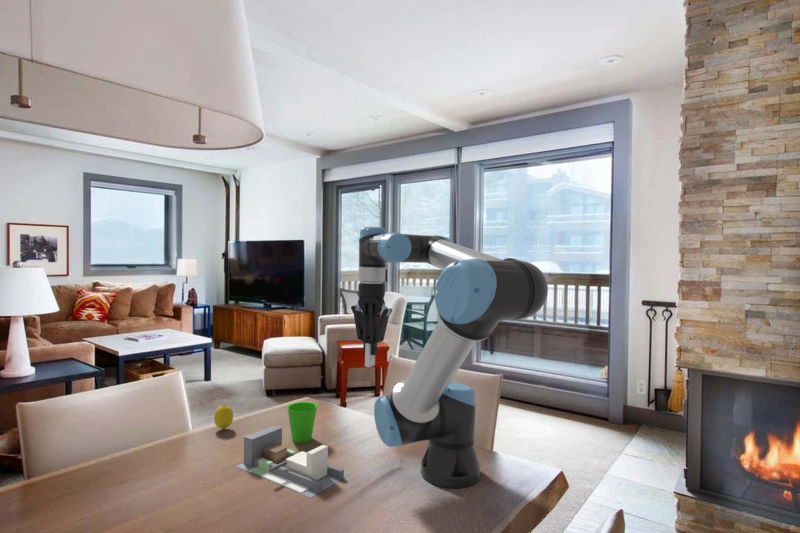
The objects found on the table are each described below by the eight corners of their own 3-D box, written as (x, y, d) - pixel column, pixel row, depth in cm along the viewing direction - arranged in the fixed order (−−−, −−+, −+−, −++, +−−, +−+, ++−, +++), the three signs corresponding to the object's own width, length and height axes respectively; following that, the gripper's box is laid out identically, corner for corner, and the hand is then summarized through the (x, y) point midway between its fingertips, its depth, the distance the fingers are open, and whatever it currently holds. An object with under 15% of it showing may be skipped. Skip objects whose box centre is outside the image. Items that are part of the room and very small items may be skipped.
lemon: (236, 429, 143) (237, 403, 143) (221, 434, 138) (221, 408, 138) (225, 425, 146) (225, 400, 146) (210, 430, 141) (210, 405, 141)
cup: (313, 450, 129) (314, 411, 128) (282, 449, 129) (282, 410, 129) (320, 437, 138) (320, 401, 137) (290, 437, 138) (291, 400, 138)
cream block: (327, 474, 111) (327, 446, 111) (294, 493, 102) (295, 462, 102) (302, 465, 116) (302, 437, 116) (268, 481, 107) (269, 452, 107)
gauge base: (350, 478, 113) (351, 445, 113) (310, 503, 101) (310, 466, 101) (278, 451, 127) (278, 422, 127) (235, 470, 115) (236, 438, 115)
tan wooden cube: (286, 462, 118) (287, 447, 118) (274, 468, 115) (275, 452, 115) (276, 458, 120) (276, 443, 120) (264, 464, 117) (264, 448, 117)
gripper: (398, 283, 127) (396, 367, 128) (361, 281, 135) (359, 360, 135) (383, 284, 121) (380, 372, 122) (345, 281, 128) (343, 365, 129)
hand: (369, 365), depth 128 cm, fingers closed
